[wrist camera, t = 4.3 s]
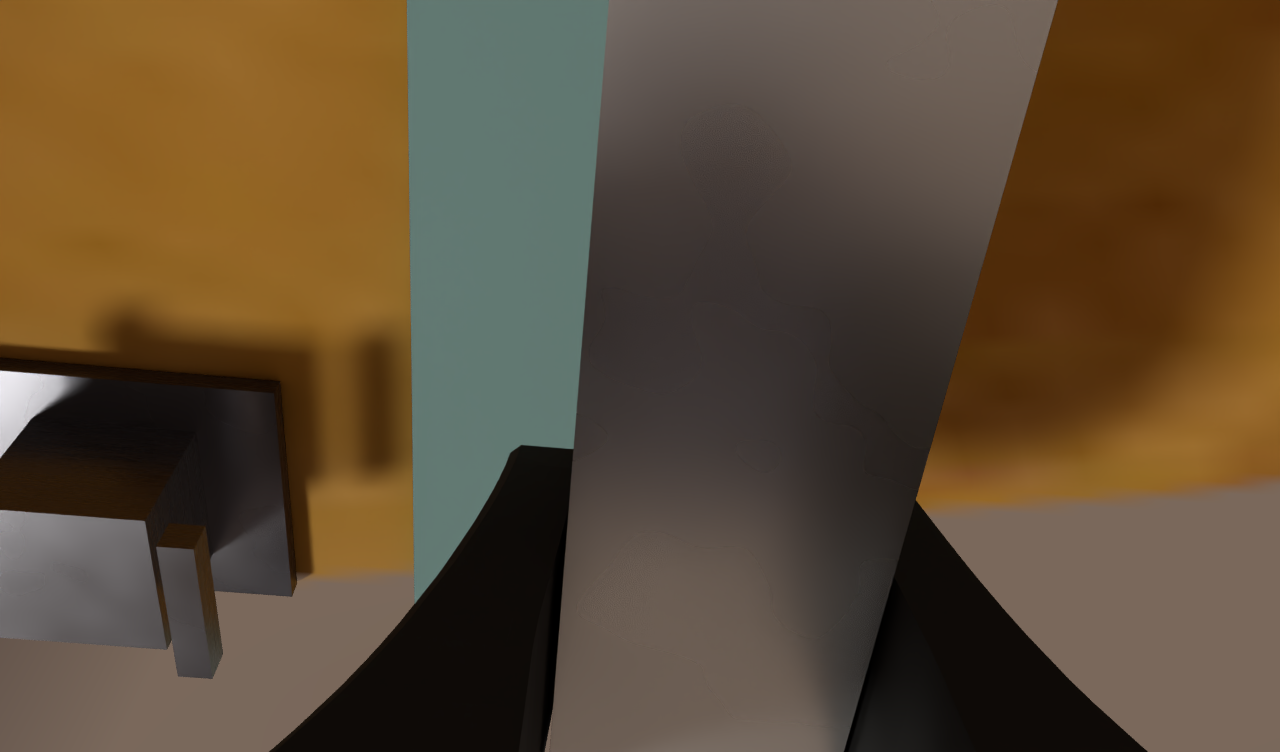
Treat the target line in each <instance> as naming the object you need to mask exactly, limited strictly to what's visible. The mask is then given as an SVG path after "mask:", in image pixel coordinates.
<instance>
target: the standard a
mask: <svg viewBox="0 0 1280 752" xmlns="http://www.w3.org/2000/svg"><path fill="white" fill-rule="evenodd" d="M296 585H297V577H296V565H295V553H294V541H293V530H292V518H291V506H290V494H289V483H288V471H287V459H286V447H285V435H284V424H283V412H282V400H281V388H280V381H269V380H256V379H244V378H232V377H220V376H208V375H196V374H184V373H172V372H160V371H148V370H136V369H124V368H112V367H100V366H88V365H76V364H64V363H52V362H40V361H28V360H16V359H4V358H0V638H13V639H28V640H42V641H55V642H69V643H83V644H96V645H110V646H125V647H137V648H152V649H165V650H166V649H168V646H169V644H170V642H171V640H172V644H173V649H174V656H175V662H176V668H177V673H178V676H181V677H182V676H183V677H195V678H209V679H212V678H213V676H214V674H215V671H216V669H217V667H218V664H219V662H220V659H221V657H222V654H223V650H222V643H221V636H220V628H219V621H218V614H217V606H216V599H215V592H214V591H223V592H237V593H251V594H263V595H276V596H290V597H292V595H293V593H294V590H295V587H296Z"/></svg>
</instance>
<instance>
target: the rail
mask: <svg viewBox="0 0 1280 752" xmlns="http://www.w3.org/2000/svg"><path fill="white" fill-rule="evenodd" d="M1057 2H1058V0H609V6H608V19H607V31H606V44H605V57H604V69H603V82H602V95H601V107H600V120H599V133H598V145H597V158H596V171H595V183H594V196H593V209H592V221H591V234H590V247H589V259H588V272H587V285H586V297H585V310H584V322H583V335H582V348H581V360H580V373H579V386H578V398H577V411H576V424H575V436H574V449H573V462H572V474H571V487H570V500H569V512H568V525H567V538H566V550H565V563H564V576H563V588H562V601H561V614H560V626H559V639H558V652H557V664H556V677H555V690H554V702H553V715H552V728H551V740H550V752H844V749H845V746H846V742H847V739H848V735H849V732H850V728H851V725H852V721H853V718H854V714H855V711H856V707H857V704H858V700H859V697H860V693H861V690H862V686H863V683H864V679H865V676H866V672H867V669H868V665H869V661H870V658H871V654H872V651H873V647H874V644H875V640H876V637H877V633H878V630H879V626H880V623H881V619H882V616H883V612H884V609H885V605H886V602H887V598H888V595H889V591H890V588H891V584H892V581H893V577H894V574H895V570H896V567H897V563H898V560H899V556H900V553H901V549H902V546H903V542H904V539H905V535H906V532H907V528H908V525H909V521H910V518H911V514H912V511H913V507H914V504H915V500H916V497H917V493H918V490H919V486H920V483H921V479H922V476H923V472H924V468H925V465H926V461H927V458H928V454H929V451H930V447H931V444H932V440H933V437H934V433H935V430H936V426H937V423H938V419H939V416H940V412H941V409H942V405H943V402H944V398H945V395H946V391H947V388H948V384H949V381H950V377H951V374H952V370H953V367H954V363H955V360H956V356H957V353H958V349H959V346H960V342H961V339H962V335H963V332H964V328H965V325H966V321H967V318H968V314H969V311H970V307H971V304H972V300H973V297H974V293H975V290H976V286H977V283H978V279H979V275H980V272H981V268H982V265H983V261H984V258H985V254H986V251H987V247H988V244H989V240H990V237H991V233H992V230H993V226H994V223H995V219H996V216H997V212H998V209H999V205H1000V202H1001V198H1002V195H1003V191H1004V188H1005V184H1006V181H1007V177H1008V174H1009V170H1010V167H1011V163H1012V160H1013V156H1014V153H1015V149H1016V146H1017V142H1018V139H1019V135H1020V132H1021V128H1022V125H1023V121H1024V118H1025V114H1026V111H1027V107H1028V104H1029V100H1030V97H1031V93H1032V90H1033V86H1034V82H1035V79H1036V75H1037V72H1038V68H1039V65H1040V61H1041V58H1042V54H1043V51H1044V47H1045V44H1046V40H1047V37H1048V33H1049V30H1050V26H1051V23H1052V19H1053V16H1054V12H1055V9H1056V5H1057Z"/></svg>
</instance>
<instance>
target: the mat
mask: <svg viewBox="0 0 1280 752" xmlns="http://www.w3.org/2000/svg"><path fill="white" fill-rule="evenodd" d="M608 6H609V0H407V40H408V120H409V199H410V278H411V357H412V436H413V515H414V586H415V587H414V592H415V603H416V601H417V600H418V599H419V598H420V596H421V595H422V594H423V593H424V591H425V590H426V589H427V588H428V586H429V585H430V584H431V583H432V581H433V580H434V579H435V578H436V576H437V575H438V574H439V572H440V571H441V569H442V568H443V567H444V565H445V564H446V563H447V561H448V560H449V558H450V557H451V555H452V554H453V552H454V551H455V549H456V548H457V546H458V545H459V543H460V542H461V541H462V539H463V538H464V536H465V535H466V533H467V532H468V530H469V529H470V527H471V526H472V524H473V523H474V521H475V520H476V518H477V516H478V515H479V513H480V511H481V510H482V508H483V506H484V505H485V503H486V501H487V500H488V498H489V496H490V494H491V493H492V491H493V489H494V487H495V485H496V483H497V481H498V480H499V477H500V475H501V473H502V471H503V469H504V467H505V465H506V462H507V460H508V457H509V454H510V452H512V451H513V450H515V449H516V448H518V447H519V446H520V445H529V446H542V447H554V448H566V449H574V436H575V424H576V411H577V398H578V386H579V373H580V360H581V348H582V335H583V322H584V310H585V297H586V285H587V272H588V259H589V247H590V234H591V221H592V209H593V196H594V183H595V171H596V158H597V145H598V133H599V120H600V107H601V95H602V82H603V69H604V57H605V44H606V31H607V19H608Z"/></svg>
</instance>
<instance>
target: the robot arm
mask: <svg viewBox="0 0 1280 752" xmlns="http://www.w3.org/2000/svg"><path fill="white" fill-rule="evenodd" d="M572 462H573V449H566V448H554V447H542V446H529V445H520V446H519V447H518V448H516V449H515V450H513V451H512V452H510V454H509V457H508V460H507V462H506V465H505V467H504V469H503V471H502V473H501V475H500V477H499V480H498V481H497V483H496V485H495V487H494V489H493V491H492V493H491V494H490V496H489V498H488V500H487V501H486V503H485V505H484V506H483V508H482V510H481V511H480V513H479V515H478V516H477V518H476V520H475V521H474V523H473V524H472V526H471V527H470V529H469V530H468V532H467V533H466V535H465V536H464V538H463V539H462V541H461V542H460V543H459V545H458V546H457V548H456V549H455V551H454V552H453V554H452V555H451V557H450V558H449V560H448V561H447V563H446V564H445V565H444V567H443V568H442V569H441V571H440V572H439V574H438V575H437V576H436V578H435V579H434V580H433V581H432V583H431V584H430V585H429V586H428V588H427V589H426V590H425V591H424V593H423V594H422V595H421V596H420V598H419V599H418V600H417V601H416V603H415V604H414V605H413V607H412V608H411V609H410V610H409V612H408V613H407V614H406V615H405V617H404V618H403V619H402V620H401V622H400V623H399V624H398V625H397V626H396V627H395V629H394V630H393V631H392V632H391V633H390V634H389V635H388V637H387V638H386V639H385V640H384V641H383V642H382V643H381V645H380V646H379V647H378V648H377V649H376V650H375V651H374V652H373V653H372V654H371V655H370V657H369V658H368V659H367V660H366V661H365V662H364V663H363V664H362V665H361V666H360V667H359V668H358V669H357V670H356V671H355V672H354V673H353V674H352V675H351V676H350V677H349V678H348V679H347V681H346V682H345V683H344V684H343V685H342V686H341V687H340V688H339V689H338V690H336V691H335V692H334V693H333V694H332V695H331V696H330V697H329V698H328V699H327V700H326V701H325V702H324V703H323V704H322V705H321V706H319V707H318V708H317V709H316V710H315V711H314V712H313V713H312V714H311V715H310V716H309V717H308V718H307V719H306V720H304V721H303V723H301V724H300V725H299V726H298V727H297V728H296V729H295V730H294V731H293V732H291V733H290V734H289V735H288V736H287V737H286V738H285V739H283V740H282V741H281V742H280V743H279V744H278V745H276V746H275V747H274V748H273V749H272V750H271V751H269V752H545V746H546V741H547V736H548V730H549V726H550V721H551V715H552V710H553V702H554V690H555V677H556V664H557V652H558V639H559V626H560V614H561V601H562V588H563V576H564V563H565V550H566V538H567V525H568V512H569V500H570V487H571V474H572ZM844 752H1147V751H1146V750H1145V749H1144V748H1143V747H1142V746H1140V745H1139V744H1138V743H1137V742H1136V741H1135V740H1134V739H1133V738H1132V737H1131V736H1130V735H1128V734H1127V733H1126V732H1125V731H1124V730H1123V729H1122V728H1121V727H1120V726H1118V725H1117V724H1116V723H1115V722H1114V721H1113V720H1112V719H1111V718H1110V717H1108V716H1107V715H1106V714H1105V713H1104V712H1103V711H1102V710H1101V709H1100V708H1099V707H1097V706H1096V705H1095V704H1094V703H1093V702H1092V701H1091V700H1090V699H1089V698H1088V697H1087V696H1086V695H1085V694H1084V693H1083V692H1082V691H1080V690H1079V689H1078V688H1077V687H1076V686H1075V685H1074V684H1073V683H1072V682H1071V681H1070V680H1069V679H1068V678H1067V677H1066V676H1065V675H1064V674H1063V673H1062V672H1061V670H1059V669H1058V667H1057V666H1056V665H1055V664H1054V663H1053V662H1052V661H1051V660H1050V659H1049V658H1048V657H1047V656H1046V655H1045V654H1044V653H1043V652H1042V651H1041V650H1040V648H1038V646H1037V645H1036V644H1035V643H1034V642H1033V641H1032V640H1031V639H1030V638H1029V637H1028V636H1027V635H1026V634H1025V633H1024V631H1023V630H1022V629H1021V628H1020V627H1019V626H1018V625H1017V624H1016V623H1015V622H1014V620H1013V619H1012V618H1011V617H1010V616H1009V615H1008V614H1007V613H1006V611H1005V610H1004V609H1003V608H1002V607H1001V605H1000V604H999V603H998V602H997V601H996V600H995V598H994V597H993V596H992V595H991V594H990V593H989V591H988V590H987V589H986V588H985V587H984V585H983V584H982V583H981V582H980V581H979V580H978V578H977V577H976V576H975V575H974V573H973V572H972V571H971V570H970V569H969V567H968V566H967V565H966V564H965V562H964V561H963V560H962V559H961V557H960V556H959V555H958V554H957V553H956V551H955V550H954V548H953V547H952V546H951V545H950V543H949V542H948V541H947V540H946V538H945V537H944V536H943V535H942V533H941V532H940V531H939V530H938V528H937V527H936V526H935V524H934V523H933V522H932V520H931V519H930V518H929V517H928V515H927V514H926V513H925V511H924V510H923V509H922V508H921V506H920V505H919V504H918V502H917V501H916V500H915V504H914V507H913V511H912V514H911V518H910V521H909V525H908V528H907V532H906V535H905V539H904V542H903V546H902V549H901V553H900V556H899V560H898V563H897V567H896V570H895V574H894V577H893V581H892V584H891V588H890V591H889V595H888V598H887V602H886V605H885V609H884V612H883V616H882V619H881V623H880V626H879V630H878V633H877V637H876V640H875V644H874V647H873V651H872V654H871V658H870V661H869V665H868V669H867V672H866V676H865V679H864V683H863V686H862V690H861V693H860V697H859V700H858V704H857V707H856V711H855V714H854V718H853V721H852V725H851V728H850V732H849V735H848V739H847V742H846V746H845V749H844Z"/></svg>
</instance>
